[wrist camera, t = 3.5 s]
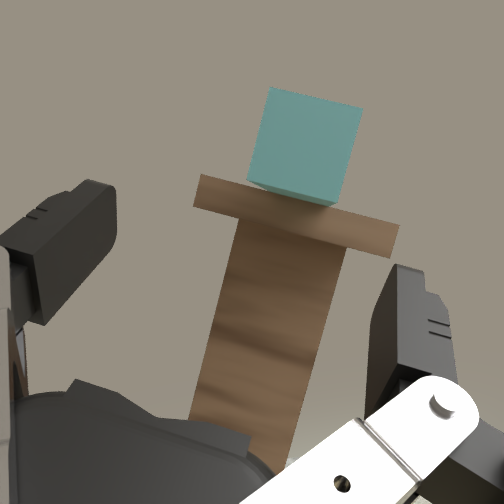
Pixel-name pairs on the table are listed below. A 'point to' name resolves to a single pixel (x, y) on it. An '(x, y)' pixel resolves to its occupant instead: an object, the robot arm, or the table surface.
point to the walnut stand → (273, 308)
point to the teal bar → (304, 146)
